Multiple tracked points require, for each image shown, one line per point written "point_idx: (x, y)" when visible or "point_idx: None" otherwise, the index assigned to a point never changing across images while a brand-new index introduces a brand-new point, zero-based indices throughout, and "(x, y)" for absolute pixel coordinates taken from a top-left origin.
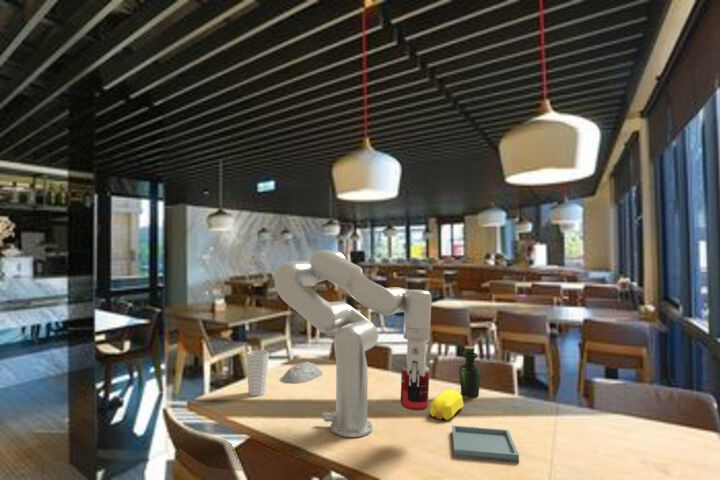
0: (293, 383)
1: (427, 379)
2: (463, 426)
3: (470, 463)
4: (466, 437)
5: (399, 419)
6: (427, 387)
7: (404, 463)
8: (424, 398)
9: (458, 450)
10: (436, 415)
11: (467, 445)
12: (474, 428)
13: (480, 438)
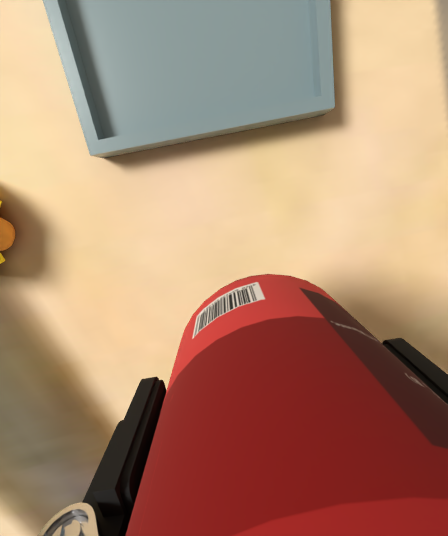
0: None
1: (441, 432)
2: (74, 98)
3: (359, 42)
4: (153, 80)
5: (87, 359)
6: (352, 344)
7: (404, 269)
8: (345, 312)
9: (332, 90)
10: (8, 243)
11: (232, 65)
12: (67, 37)
13: (135, 6)
